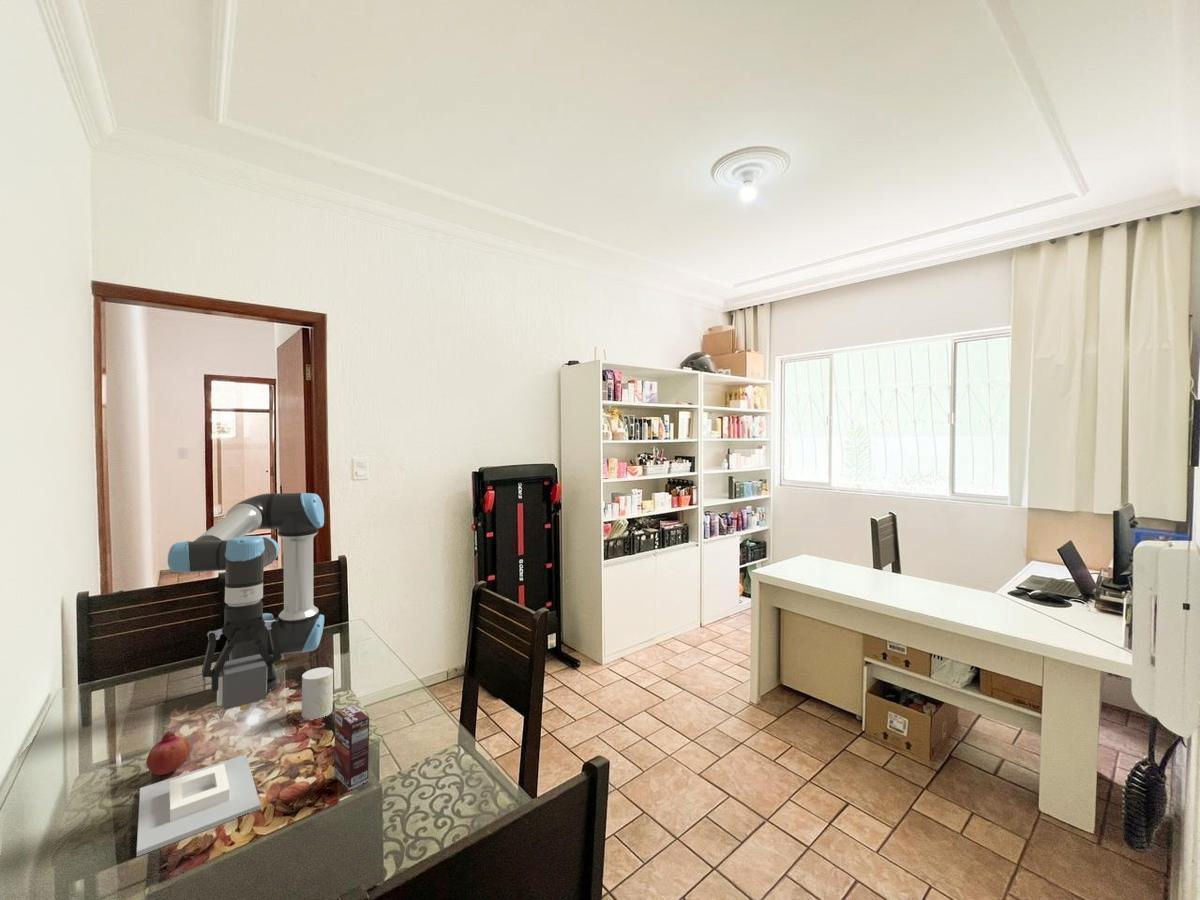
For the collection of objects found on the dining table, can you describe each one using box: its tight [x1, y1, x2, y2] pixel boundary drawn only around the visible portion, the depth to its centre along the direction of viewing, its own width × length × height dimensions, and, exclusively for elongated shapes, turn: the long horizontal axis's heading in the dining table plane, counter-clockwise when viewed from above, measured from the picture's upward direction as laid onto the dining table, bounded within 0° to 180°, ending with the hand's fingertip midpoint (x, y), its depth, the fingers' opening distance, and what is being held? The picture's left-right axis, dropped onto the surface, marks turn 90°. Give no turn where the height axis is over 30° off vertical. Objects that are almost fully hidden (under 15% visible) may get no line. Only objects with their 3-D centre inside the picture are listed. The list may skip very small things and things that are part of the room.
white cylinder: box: [301, 666, 334, 719], centre depth 151 cm, size 8×8×12 cm
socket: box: [136, 754, 261, 857], centre depth 113 cm, size 24×20×4 cm
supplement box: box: [333, 704, 370, 791], centre depth 121 cm, size 9×5×16 cm, turn 50°
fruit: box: [146, 730, 191, 776], centre depth 122 cm, size 8×8×10 cm
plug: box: [220, 654, 267, 711], centre depth 120 cm, size 9×8×10 cm
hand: (242, 697), depth 120 cm, fingers closed on plug, 8 cm apart
